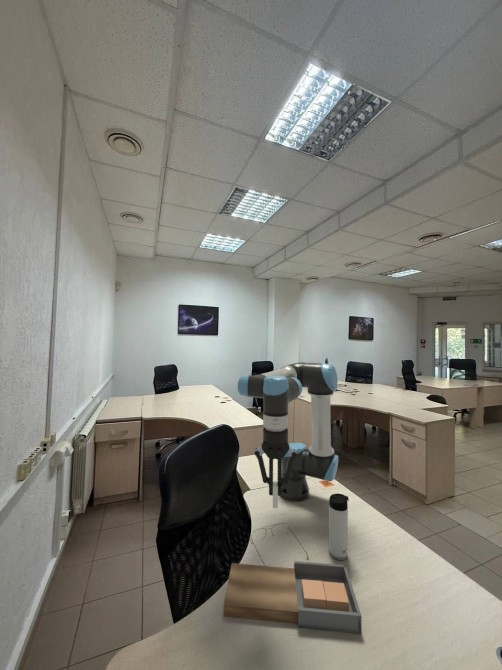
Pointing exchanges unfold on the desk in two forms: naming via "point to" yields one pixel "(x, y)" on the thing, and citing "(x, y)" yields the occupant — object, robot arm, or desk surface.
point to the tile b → (336, 596)
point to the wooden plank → (261, 593)
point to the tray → (324, 617)
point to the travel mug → (338, 526)
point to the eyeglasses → (274, 535)
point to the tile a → (313, 594)
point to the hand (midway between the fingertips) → (275, 505)
